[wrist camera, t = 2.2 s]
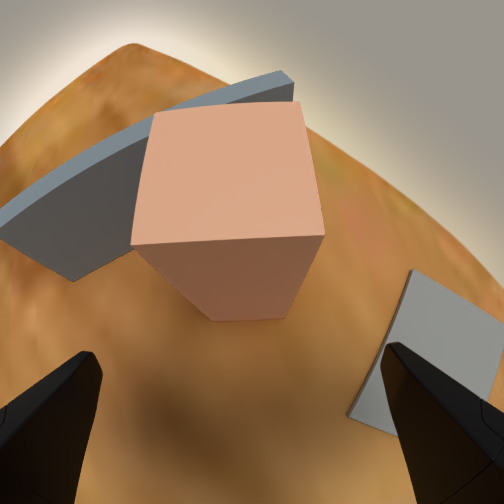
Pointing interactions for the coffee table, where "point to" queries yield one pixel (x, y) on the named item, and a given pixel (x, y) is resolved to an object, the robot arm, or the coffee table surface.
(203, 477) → the coffee table surface
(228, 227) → the salmon pink tall block
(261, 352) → the coffee table surface
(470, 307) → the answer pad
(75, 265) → the screen
